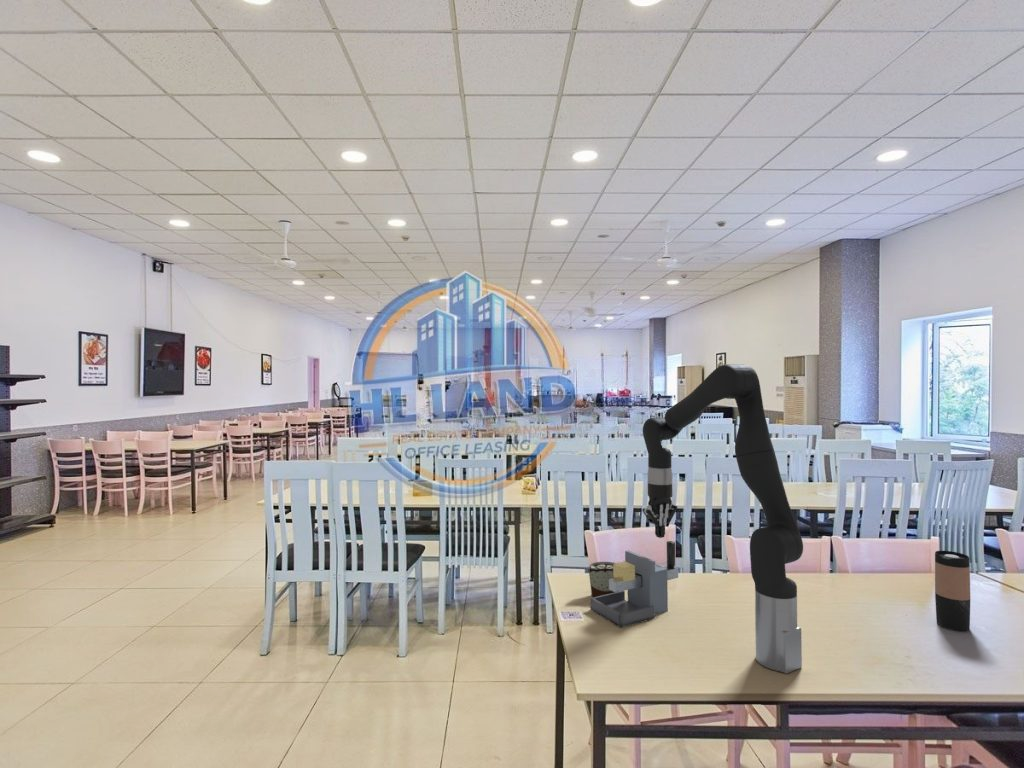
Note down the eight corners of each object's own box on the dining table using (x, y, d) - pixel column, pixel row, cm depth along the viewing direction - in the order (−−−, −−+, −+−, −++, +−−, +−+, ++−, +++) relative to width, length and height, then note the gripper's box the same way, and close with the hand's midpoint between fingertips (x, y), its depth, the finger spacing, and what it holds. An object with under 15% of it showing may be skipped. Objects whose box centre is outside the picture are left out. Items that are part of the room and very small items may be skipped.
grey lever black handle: (678, 577, 166) (677, 542, 166) (615, 592, 155) (615, 555, 155) (671, 574, 169) (670, 540, 169) (609, 589, 157) (608, 552, 157)
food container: (624, 591, 175) (623, 561, 175) (626, 599, 168) (625, 567, 169) (586, 590, 176) (586, 560, 176) (587, 597, 170) (586, 566, 170)
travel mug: (961, 621, 151) (960, 551, 151) (977, 633, 143) (976, 560, 144) (930, 618, 153) (929, 549, 153) (943, 630, 145) (942, 557, 146)
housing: (670, 612, 158) (669, 558, 159) (652, 616, 155) (651, 561, 155) (642, 598, 169) (642, 547, 169) (625, 602, 166) (625, 550, 166)
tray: (654, 618, 154) (654, 606, 154) (620, 627, 148) (620, 615, 148) (623, 601, 167) (622, 590, 167) (590, 609, 161) (590, 598, 161)
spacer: (635, 579, 157) (634, 565, 157) (623, 581, 155) (623, 568, 155) (625, 574, 161) (624, 561, 161) (613, 577, 159) (613, 563, 159)
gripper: (652, 485, 158) (652, 543, 158) (684, 481, 165) (684, 537, 165) (635, 481, 165) (635, 536, 165) (666, 477, 171) (667, 531, 171)
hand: (660, 536), depth 165 cm, fingers closed
